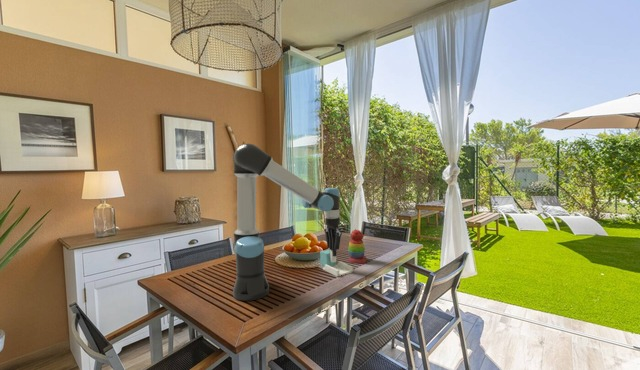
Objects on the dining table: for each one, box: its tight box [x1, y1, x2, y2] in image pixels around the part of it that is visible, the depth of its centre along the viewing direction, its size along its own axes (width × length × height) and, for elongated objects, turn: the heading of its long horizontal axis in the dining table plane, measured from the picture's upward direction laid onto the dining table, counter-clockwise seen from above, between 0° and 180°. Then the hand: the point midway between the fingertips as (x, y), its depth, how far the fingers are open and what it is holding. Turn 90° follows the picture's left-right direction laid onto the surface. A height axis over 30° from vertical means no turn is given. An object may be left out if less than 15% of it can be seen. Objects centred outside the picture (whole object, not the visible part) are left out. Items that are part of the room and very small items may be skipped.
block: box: [319, 249, 337, 266], centre depth 155 cm, size 6×6×7 cm
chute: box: [317, 260, 354, 277], centre depth 151 cm, size 10×20×3 cm, turn 33°
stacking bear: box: [347, 228, 367, 265], centre depth 163 cm, size 11×10×18 cm
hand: (333, 261), depth 151 cm, fingers closed
